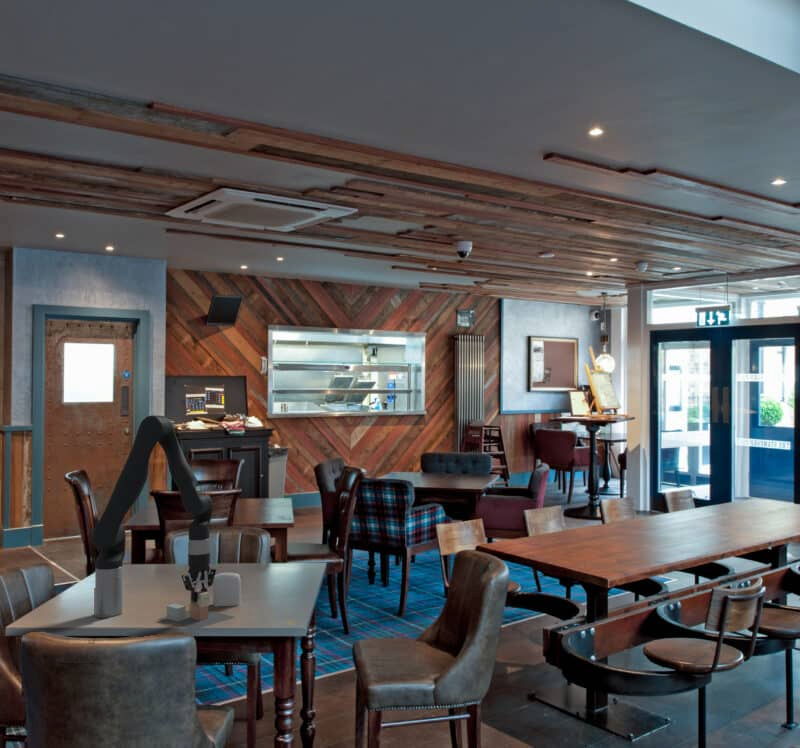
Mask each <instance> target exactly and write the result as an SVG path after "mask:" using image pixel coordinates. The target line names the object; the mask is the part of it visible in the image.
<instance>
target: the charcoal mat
mask: <svg viewBox="0 0 800 748" xmlns="http://www.w3.org/2000/svg"><path fill="white" fill-rule="evenodd" d="M234 618H235V616H233V615H229V614H225V613H221V612H218V611H213V610H211V609H208V619H204V620H201V621H200V620H196V619H193V618H189V610H185V620H181V621H178V622H177V621H173V620H170V619H167V616H164V617H161V618H157V620H158V621H162V622H167V623H169V624H173V625H176V626H180V627H183V628H188V629H189V630H194V631H195V630H198V629H201V628H204V627H208V626H211V625H214V624H217V623H220V622H224V621H227V620H230V619H234Z"/></svg>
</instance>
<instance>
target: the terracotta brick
mask: <svg viewBox="0 0 800 748" xmlns="http://www.w3.org/2000/svg"><path fill="white" fill-rule="evenodd" d="M188 606H189V608H188V611H189V618H193V619H196V620H200V621H201V620H204V619H208V610H209V606H206V607H202V608H201V607H197V606H193V605H190V604H189V605H188Z"/></svg>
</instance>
